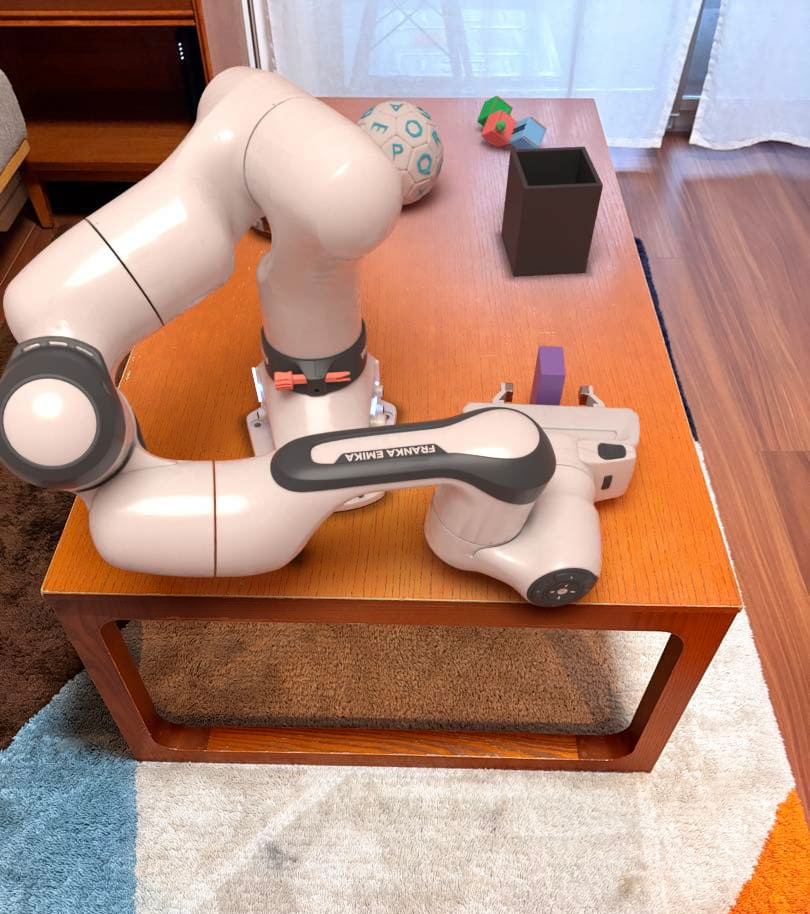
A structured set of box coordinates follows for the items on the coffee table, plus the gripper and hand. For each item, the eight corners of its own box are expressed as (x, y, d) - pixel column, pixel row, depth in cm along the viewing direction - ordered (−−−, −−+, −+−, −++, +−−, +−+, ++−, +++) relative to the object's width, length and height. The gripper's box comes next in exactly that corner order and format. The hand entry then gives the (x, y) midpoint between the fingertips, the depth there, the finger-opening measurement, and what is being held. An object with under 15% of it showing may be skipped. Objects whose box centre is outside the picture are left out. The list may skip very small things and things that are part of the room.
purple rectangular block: (551, 444, 101) (565, 374, 92) (528, 443, 101) (541, 373, 92) (549, 415, 104) (562, 346, 95) (527, 415, 104) (538, 345, 95)
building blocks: (501, 165, 152) (540, 149, 142) (467, 140, 148) (504, 123, 138) (516, 125, 152) (556, 107, 142) (483, 100, 148) (521, 79, 138)
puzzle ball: (349, 223, 131) (344, 128, 120) (352, 175, 141) (347, 83, 129) (443, 223, 132) (448, 128, 120) (439, 175, 141) (443, 83, 129)
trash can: (585, 272, 123) (603, 185, 112) (513, 276, 123) (524, 188, 112) (569, 232, 130) (584, 146, 119) (501, 235, 129) (510, 149, 119)
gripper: (456, 488, 93) (457, 404, 101) (638, 495, 92) (624, 410, 101) (459, 448, 88) (460, 364, 96) (651, 456, 87) (635, 370, 96)
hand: (545, 388), depth 98 cm, fingers open, 8 cm apart
